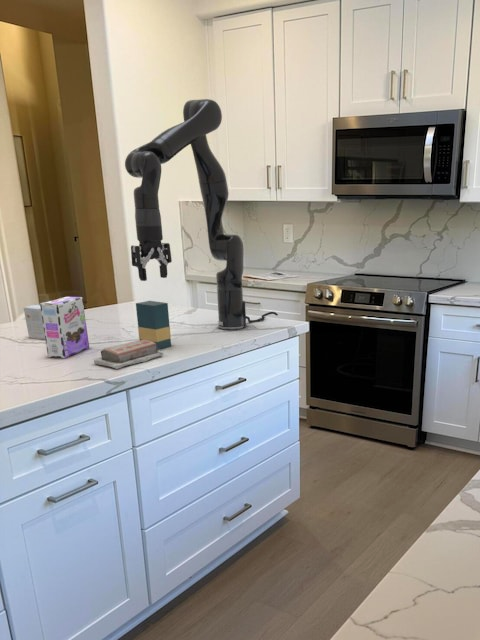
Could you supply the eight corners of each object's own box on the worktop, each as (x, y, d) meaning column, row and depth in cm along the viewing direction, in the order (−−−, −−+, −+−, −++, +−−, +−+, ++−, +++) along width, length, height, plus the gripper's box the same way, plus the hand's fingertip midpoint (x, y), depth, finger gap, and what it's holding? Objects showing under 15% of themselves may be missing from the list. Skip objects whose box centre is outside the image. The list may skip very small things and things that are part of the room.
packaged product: (139, 336, 189) (162, 341, 184) (140, 352, 191) (163, 356, 186) (91, 348, 175) (114, 353, 170) (93, 364, 177) (116, 369, 172)
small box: (58, 336, 209) (53, 306, 205) (45, 340, 205) (40, 308, 201) (41, 334, 212) (36, 304, 208) (28, 337, 208) (23, 306, 204)
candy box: (64, 358, 182) (56, 303, 176) (47, 357, 183) (38, 302, 177) (90, 348, 195) (83, 296, 189) (73, 347, 196) (66, 295, 190)
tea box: (135, 303, 192) (153, 305, 189) (149, 300, 197) (167, 303, 194) (139, 346, 198) (157, 349, 194) (153, 342, 203) (171, 346, 199)
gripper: (139, 225, 176) (145, 282, 182) (174, 223, 187) (178, 277, 193) (121, 224, 179) (127, 280, 185) (156, 222, 190) (161, 275, 197)
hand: (153, 279), depth 189 cm, fingers open, 8 cm apart
